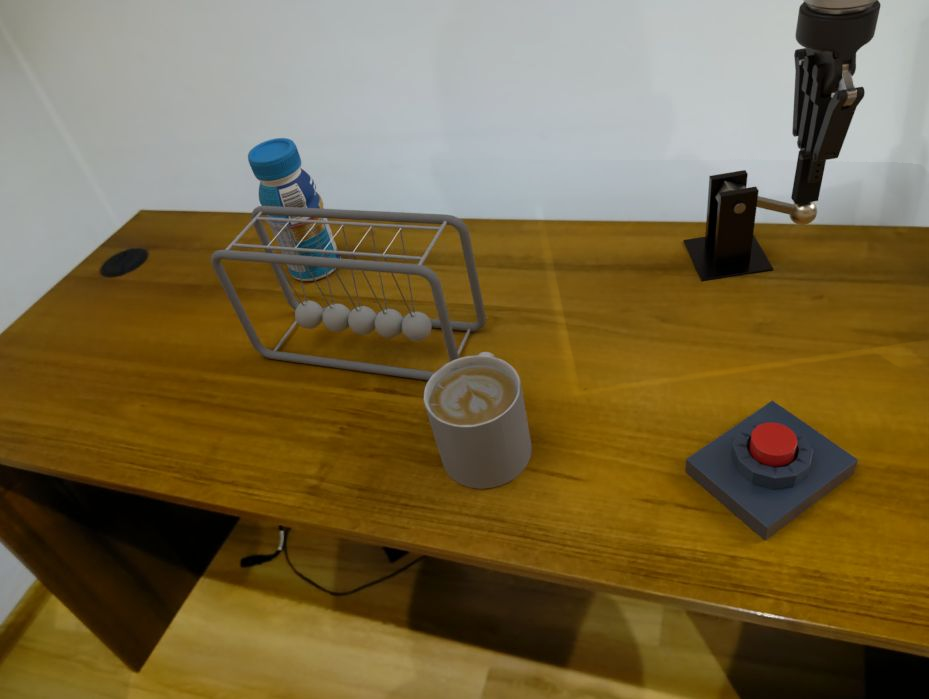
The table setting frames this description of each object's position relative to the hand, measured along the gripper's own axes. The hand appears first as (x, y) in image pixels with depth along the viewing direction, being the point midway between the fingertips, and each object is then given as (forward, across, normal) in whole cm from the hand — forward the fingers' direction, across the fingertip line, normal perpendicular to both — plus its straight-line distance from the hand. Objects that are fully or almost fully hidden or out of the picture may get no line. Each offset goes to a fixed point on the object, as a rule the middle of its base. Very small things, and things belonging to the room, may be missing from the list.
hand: (804, 199), depth 89 cm
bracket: (+8, 0, -9) cm, 12 cm away
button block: (+8, +34, -15) cm, 38 cm away
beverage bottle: (+8, -14, -67) cm, 69 cm away
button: (+4, +34, -15) cm, 37 cm away
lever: (+1, 0, -5) cm, 5 cm away
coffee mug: (+8, +25, -42) cm, 50 cm away
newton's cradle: (+8, +6, -57) cm, 58 cm away
